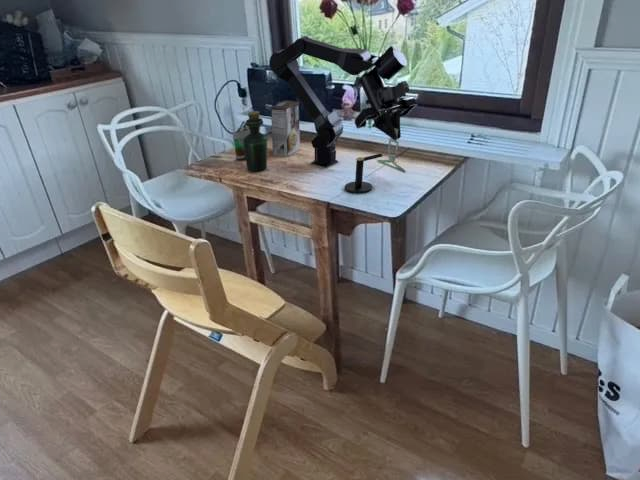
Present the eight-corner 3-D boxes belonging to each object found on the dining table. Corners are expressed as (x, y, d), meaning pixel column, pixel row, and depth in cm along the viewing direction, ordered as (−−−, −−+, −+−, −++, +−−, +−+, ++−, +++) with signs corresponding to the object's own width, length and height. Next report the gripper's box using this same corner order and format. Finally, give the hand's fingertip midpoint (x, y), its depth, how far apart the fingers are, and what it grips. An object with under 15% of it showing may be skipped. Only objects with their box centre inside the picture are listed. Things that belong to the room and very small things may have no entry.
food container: (251, 162, 180) (249, 132, 174) (235, 162, 182) (232, 132, 176) (261, 150, 189) (260, 122, 182) (245, 150, 191) (243, 122, 184)
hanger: (403, 173, 151) (409, 134, 144) (375, 162, 159) (379, 124, 153) (406, 172, 151) (411, 133, 144) (378, 161, 160) (382, 124, 153)
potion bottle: (273, 168, 173) (271, 112, 162) (253, 175, 170) (249, 117, 159) (260, 163, 179) (257, 107, 168) (240, 169, 176) (236, 113, 165)
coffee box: (284, 147, 190) (283, 100, 180) (300, 149, 186) (300, 101, 176) (271, 155, 184) (270, 106, 174) (287, 157, 181) (286, 108, 171)
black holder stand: (339, 187, 155) (340, 157, 150) (372, 178, 158) (374, 149, 153) (354, 195, 149) (356, 165, 144) (388, 187, 152) (391, 156, 147)
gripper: (364, 78, 139) (387, 129, 138) (417, 66, 145) (440, 115, 144) (344, 103, 150) (366, 151, 149) (394, 91, 156) (415, 137, 155)
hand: (397, 138), depth 149 cm, fingers closed on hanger, 1 cm apart
